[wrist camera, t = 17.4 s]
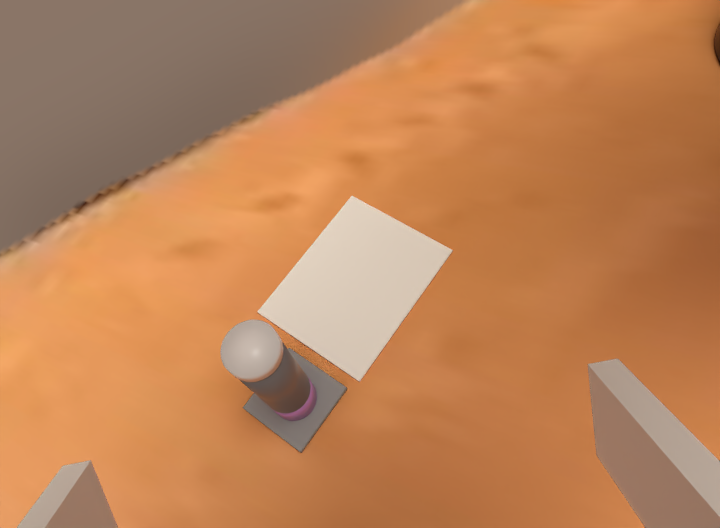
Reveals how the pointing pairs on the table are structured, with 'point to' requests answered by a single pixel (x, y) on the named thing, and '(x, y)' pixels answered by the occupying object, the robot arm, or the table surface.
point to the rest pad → (307, 427)
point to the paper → (355, 286)
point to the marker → (268, 369)
